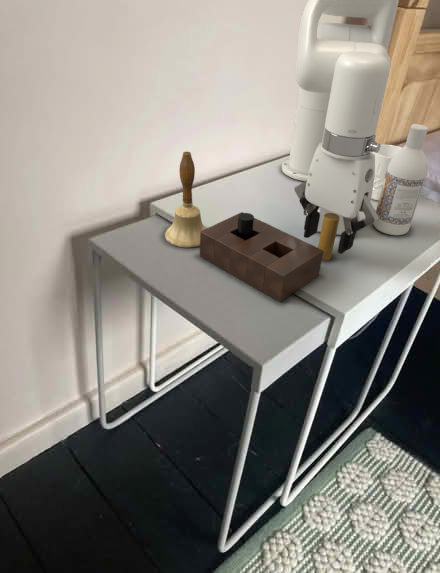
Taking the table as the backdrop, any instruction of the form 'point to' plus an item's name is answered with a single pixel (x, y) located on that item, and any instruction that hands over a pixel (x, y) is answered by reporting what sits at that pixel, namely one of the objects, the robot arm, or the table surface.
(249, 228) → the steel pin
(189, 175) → the hand bell
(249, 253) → the pin block
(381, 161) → the white cup
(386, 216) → the bath foam
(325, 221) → the brass pin
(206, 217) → the table surface
